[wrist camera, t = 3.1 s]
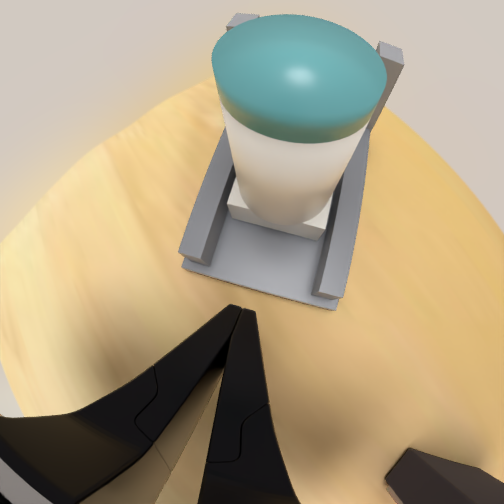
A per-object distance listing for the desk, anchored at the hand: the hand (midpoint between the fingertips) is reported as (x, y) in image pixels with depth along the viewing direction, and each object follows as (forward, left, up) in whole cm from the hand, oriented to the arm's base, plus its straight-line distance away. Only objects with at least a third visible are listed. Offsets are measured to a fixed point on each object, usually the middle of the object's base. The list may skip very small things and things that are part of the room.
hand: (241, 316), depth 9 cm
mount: (+7, 0, -7) cm, 10 cm away
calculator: (-11, -17, -8) cm, 22 cm away
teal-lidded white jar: (+7, 0, -6) cm, 9 cm away
